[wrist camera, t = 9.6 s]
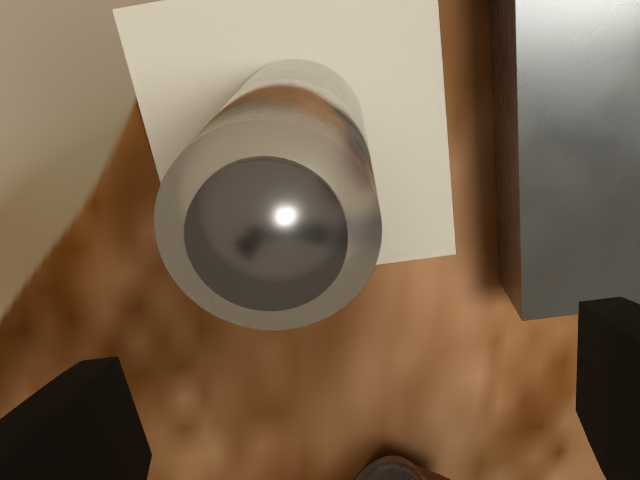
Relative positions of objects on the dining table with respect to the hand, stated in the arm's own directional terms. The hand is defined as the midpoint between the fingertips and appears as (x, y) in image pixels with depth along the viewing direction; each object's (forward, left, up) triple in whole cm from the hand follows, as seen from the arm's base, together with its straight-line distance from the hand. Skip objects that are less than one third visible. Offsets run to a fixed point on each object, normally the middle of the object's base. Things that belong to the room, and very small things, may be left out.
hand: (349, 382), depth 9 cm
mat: (+1, -2, -10) cm, 10 cm away
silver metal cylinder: (+1, -2, -10) cm, 10 cm away
